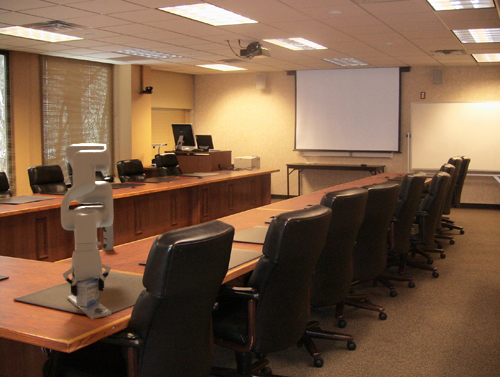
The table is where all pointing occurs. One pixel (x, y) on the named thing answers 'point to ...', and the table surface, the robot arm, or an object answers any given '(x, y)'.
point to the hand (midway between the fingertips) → (87, 292)
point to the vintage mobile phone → (108, 238)
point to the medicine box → (87, 292)
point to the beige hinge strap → (92, 309)
